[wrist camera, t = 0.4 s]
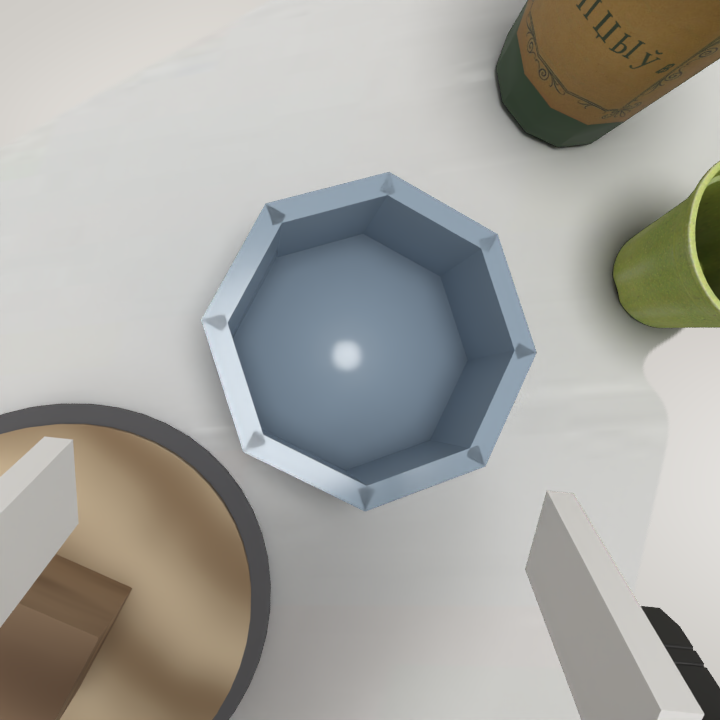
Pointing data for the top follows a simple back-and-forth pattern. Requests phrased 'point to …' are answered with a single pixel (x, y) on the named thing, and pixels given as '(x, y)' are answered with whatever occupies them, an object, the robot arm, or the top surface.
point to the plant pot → (676, 263)
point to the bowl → (369, 340)
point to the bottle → (600, 61)
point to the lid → (128, 591)
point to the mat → (218, 480)
